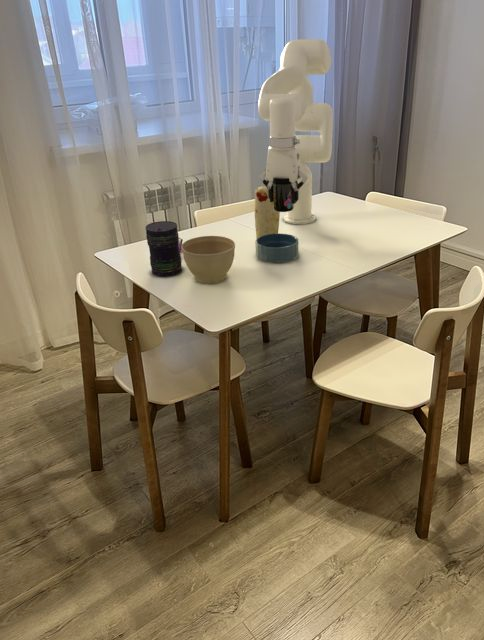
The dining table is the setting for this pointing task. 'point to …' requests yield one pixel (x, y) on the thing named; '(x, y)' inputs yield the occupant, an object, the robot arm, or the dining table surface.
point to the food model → (265, 213)
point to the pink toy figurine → (180, 245)
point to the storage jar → (164, 248)
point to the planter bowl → (209, 257)
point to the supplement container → (282, 195)
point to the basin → (277, 247)
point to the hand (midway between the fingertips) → (283, 201)
